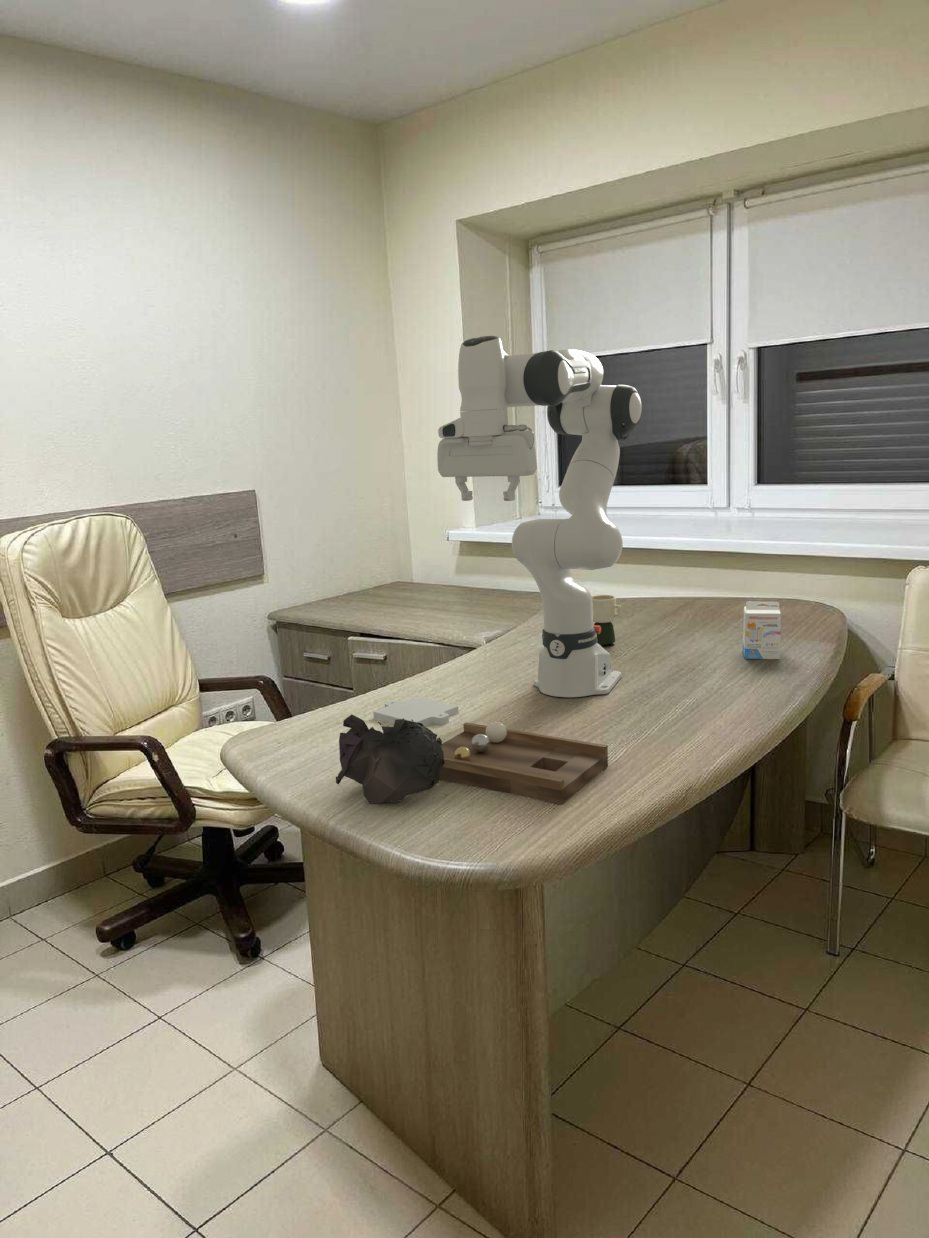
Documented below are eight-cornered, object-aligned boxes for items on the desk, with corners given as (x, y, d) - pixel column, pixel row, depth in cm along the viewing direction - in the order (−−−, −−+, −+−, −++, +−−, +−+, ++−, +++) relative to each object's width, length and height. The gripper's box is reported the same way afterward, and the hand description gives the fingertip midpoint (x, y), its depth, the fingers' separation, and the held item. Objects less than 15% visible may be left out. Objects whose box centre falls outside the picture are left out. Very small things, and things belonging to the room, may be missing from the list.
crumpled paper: (321, 804, 152) (428, 826, 144) (322, 718, 149) (431, 736, 141) (364, 779, 164) (465, 798, 156) (365, 701, 162) (468, 716, 154)
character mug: (628, 643, 246) (627, 596, 243) (615, 649, 241) (614, 601, 238) (592, 639, 253) (591, 593, 250) (579, 645, 247) (578, 598, 244)
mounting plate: (366, 717, 198) (365, 709, 198) (409, 702, 207) (408, 694, 207) (424, 734, 186) (423, 725, 185) (467, 716, 195) (466, 708, 195)
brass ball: (460, 758, 163) (459, 743, 163) (474, 761, 162) (473, 745, 161) (451, 764, 161) (450, 748, 160) (465, 767, 159) (464, 751, 158)
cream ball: (493, 737, 173) (492, 717, 172) (511, 740, 171) (510, 720, 170) (481, 744, 170) (480, 723, 169) (500, 747, 168) (499, 726, 167)
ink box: (744, 659, 225) (744, 606, 222) (742, 650, 233) (742, 599, 230) (780, 659, 223) (781, 606, 220) (777, 650, 231) (778, 599, 228)
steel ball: (478, 747, 168) (477, 730, 168) (493, 750, 167) (492, 732, 166) (468, 753, 166) (467, 735, 165) (484, 756, 164) (483, 738, 163)
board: (467, 741, 179) (466, 722, 178) (608, 766, 162) (607, 745, 162) (413, 773, 164) (411, 752, 163) (561, 804, 148) (560, 781, 147)
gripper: (541, 423, 167) (544, 499, 170) (449, 428, 178) (453, 498, 181) (524, 424, 162) (527, 502, 165) (430, 429, 173) (435, 502, 176)
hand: (488, 500), depth 173 cm, fingers open, 8 cm apart
